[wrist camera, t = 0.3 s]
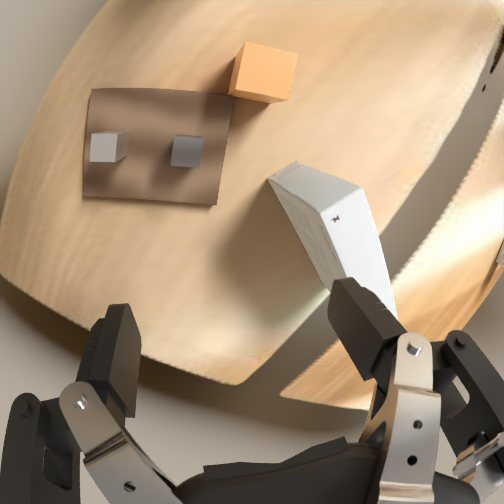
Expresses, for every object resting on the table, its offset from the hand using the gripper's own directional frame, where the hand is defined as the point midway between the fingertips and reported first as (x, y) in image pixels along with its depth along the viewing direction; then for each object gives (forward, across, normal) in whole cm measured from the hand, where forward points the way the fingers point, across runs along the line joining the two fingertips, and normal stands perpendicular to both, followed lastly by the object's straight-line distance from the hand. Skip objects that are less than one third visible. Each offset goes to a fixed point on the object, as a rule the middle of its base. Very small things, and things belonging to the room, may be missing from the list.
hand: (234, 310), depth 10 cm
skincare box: (+27, -15, +9) cm, 33 cm away
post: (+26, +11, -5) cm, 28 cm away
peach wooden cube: (+27, -6, -12) cm, 30 cm away
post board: (+27, +6, -4) cm, 28 cm away
